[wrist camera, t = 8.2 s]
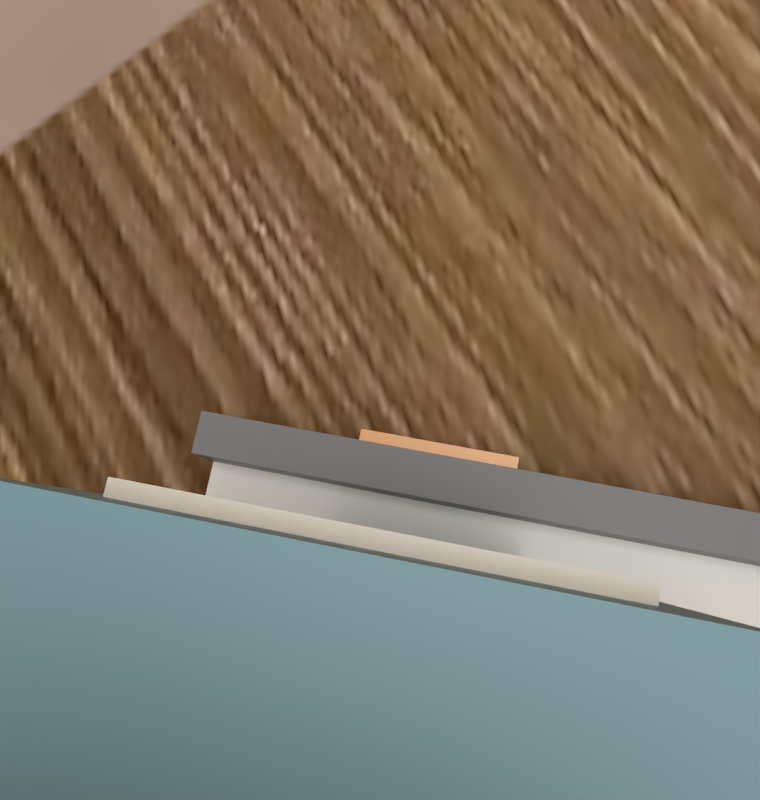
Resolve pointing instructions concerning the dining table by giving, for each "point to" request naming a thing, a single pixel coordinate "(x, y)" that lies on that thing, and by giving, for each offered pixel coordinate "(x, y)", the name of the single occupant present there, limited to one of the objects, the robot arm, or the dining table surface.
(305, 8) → the dining table surface
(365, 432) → the ticket
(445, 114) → the dining table surface
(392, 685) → the carton
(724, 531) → the white base plate
